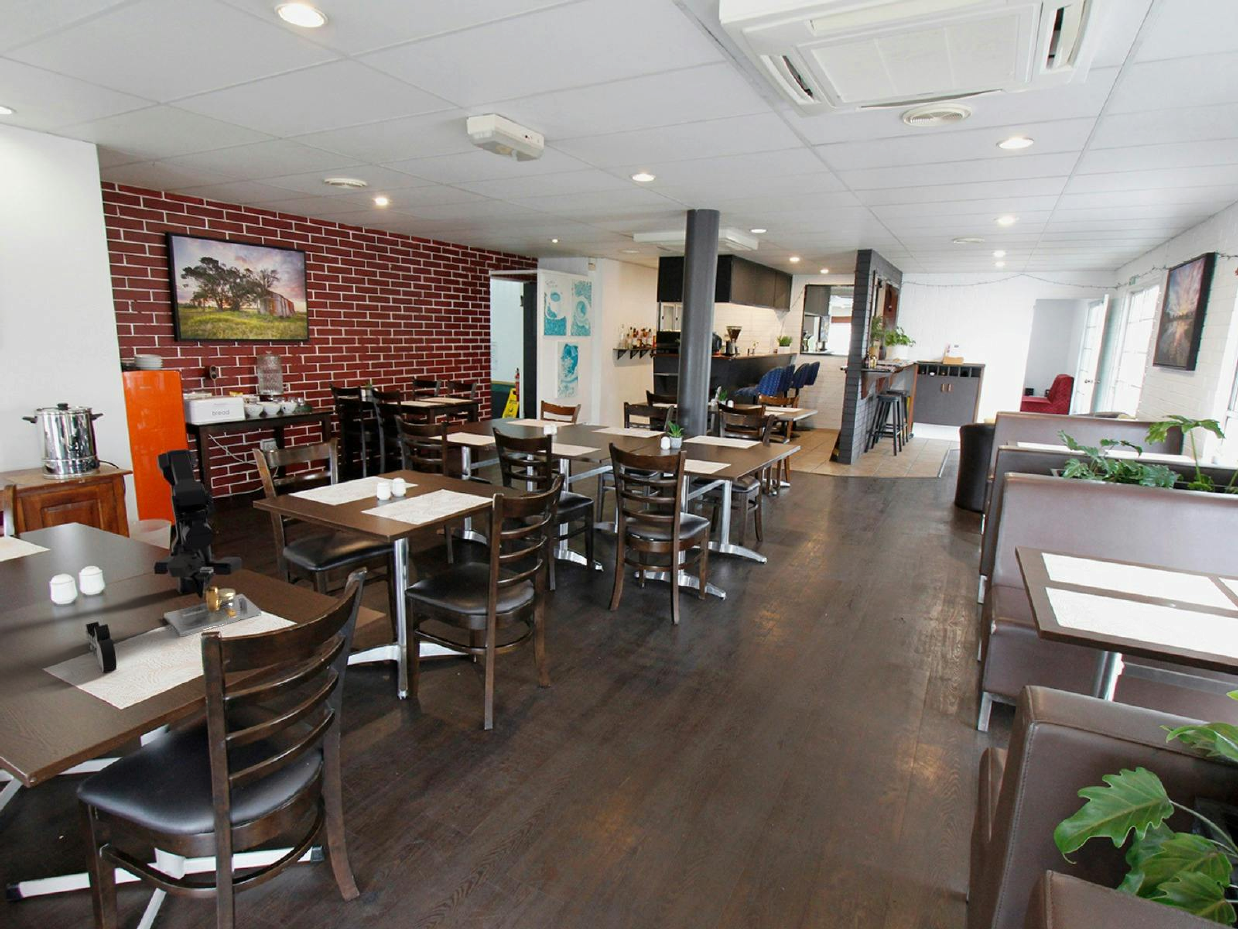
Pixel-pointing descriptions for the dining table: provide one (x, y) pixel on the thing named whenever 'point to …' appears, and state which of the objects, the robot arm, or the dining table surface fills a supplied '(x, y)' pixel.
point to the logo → (102, 645)
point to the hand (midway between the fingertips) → (202, 597)
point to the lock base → (210, 615)
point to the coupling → (217, 597)
